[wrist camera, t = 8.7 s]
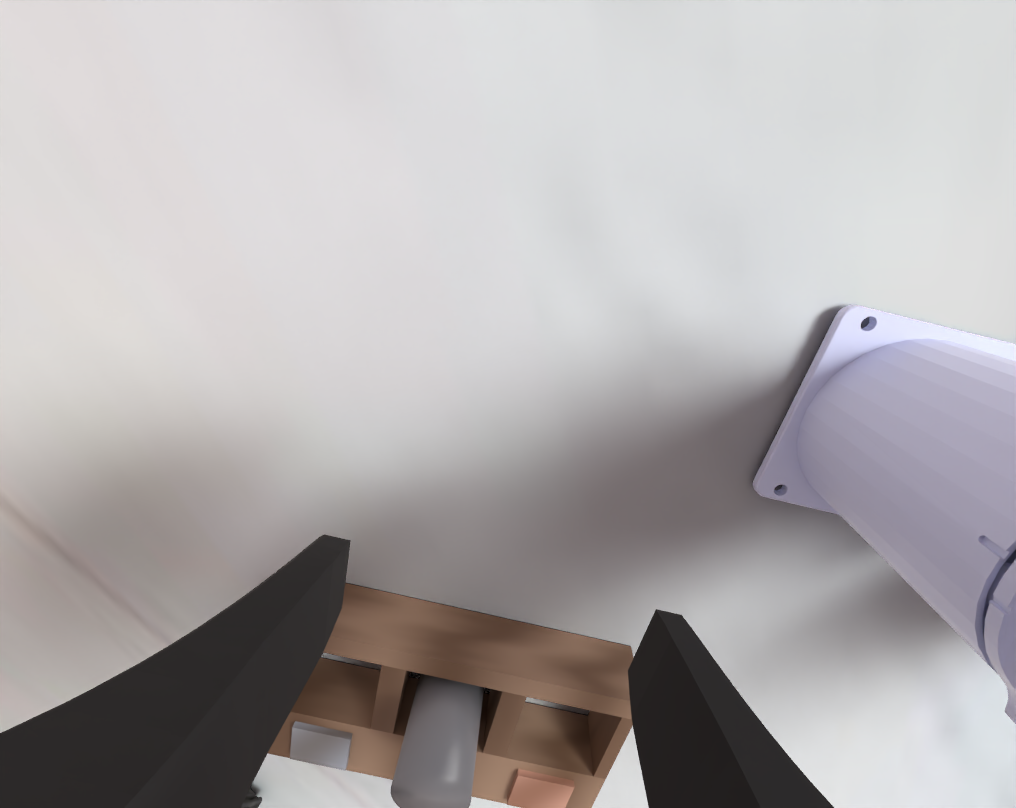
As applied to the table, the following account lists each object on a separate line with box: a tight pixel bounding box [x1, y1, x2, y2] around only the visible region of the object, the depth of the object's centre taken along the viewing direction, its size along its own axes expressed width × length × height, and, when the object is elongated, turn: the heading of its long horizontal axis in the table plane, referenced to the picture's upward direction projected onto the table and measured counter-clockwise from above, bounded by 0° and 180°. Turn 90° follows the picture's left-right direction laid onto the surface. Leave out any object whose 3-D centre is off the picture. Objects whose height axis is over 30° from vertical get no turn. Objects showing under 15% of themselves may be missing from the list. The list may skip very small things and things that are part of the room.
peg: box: [391, 674, 484, 808], centre depth 22 cm, size 3×3×6 cm
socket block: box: [268, 583, 633, 808], centre depth 24 cm, size 17×9×3 cm, turn 77°
